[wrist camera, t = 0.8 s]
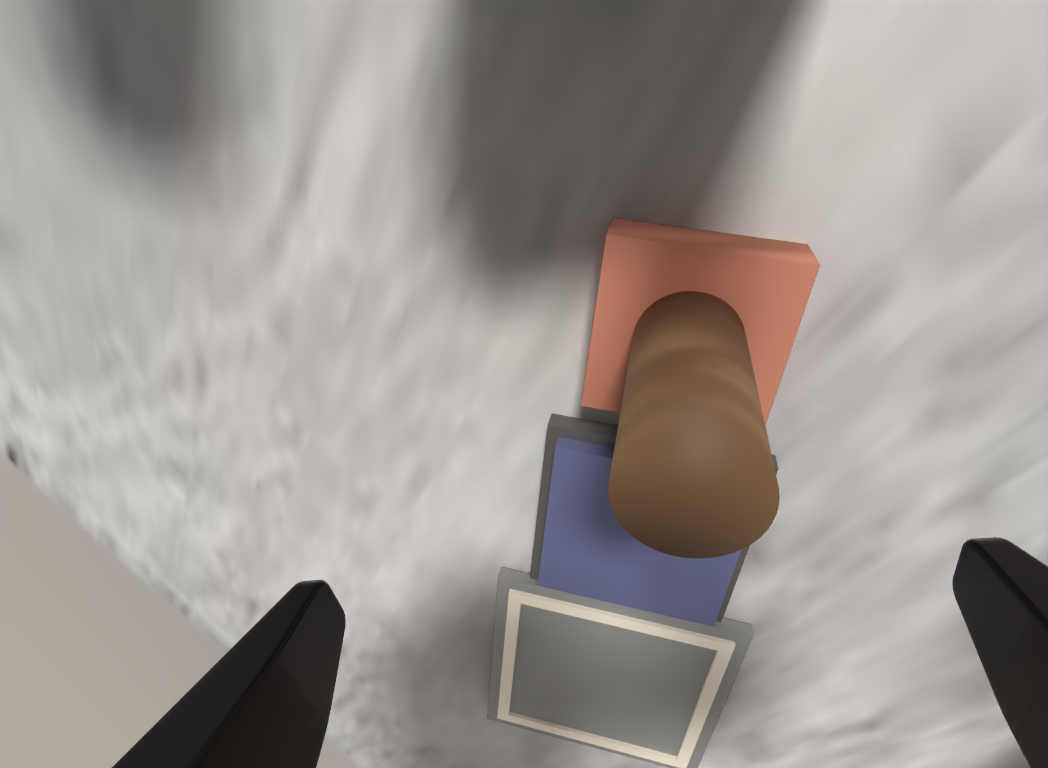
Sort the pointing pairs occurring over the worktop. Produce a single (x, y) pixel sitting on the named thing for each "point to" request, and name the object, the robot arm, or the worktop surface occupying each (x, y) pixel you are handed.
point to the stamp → (694, 379)
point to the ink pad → (614, 537)
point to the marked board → (610, 672)
